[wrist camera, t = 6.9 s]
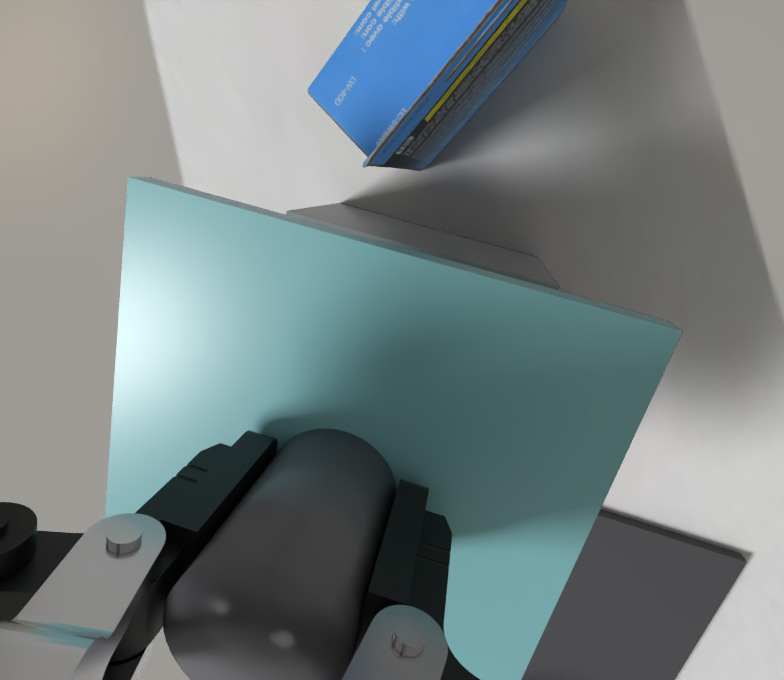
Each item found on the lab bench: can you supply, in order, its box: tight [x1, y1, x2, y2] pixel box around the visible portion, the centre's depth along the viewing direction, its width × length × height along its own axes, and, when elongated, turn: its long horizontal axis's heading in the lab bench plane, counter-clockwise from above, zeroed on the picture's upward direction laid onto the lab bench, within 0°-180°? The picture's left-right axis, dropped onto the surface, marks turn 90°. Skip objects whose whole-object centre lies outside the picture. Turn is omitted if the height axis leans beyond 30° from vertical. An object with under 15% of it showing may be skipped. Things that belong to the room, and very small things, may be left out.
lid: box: [105, 177, 683, 680], centre depth 11 cm, size 12×12×5 cm
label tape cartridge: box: [308, 0, 567, 171], centre depth 16 cm, size 9×4×12 cm, turn 138°
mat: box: [521, 510, 747, 680], centre depth 29 cm, size 14×14×1 cm
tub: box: [286, 203, 559, 290], centre depth 23 cm, size 10×10×7 cm
